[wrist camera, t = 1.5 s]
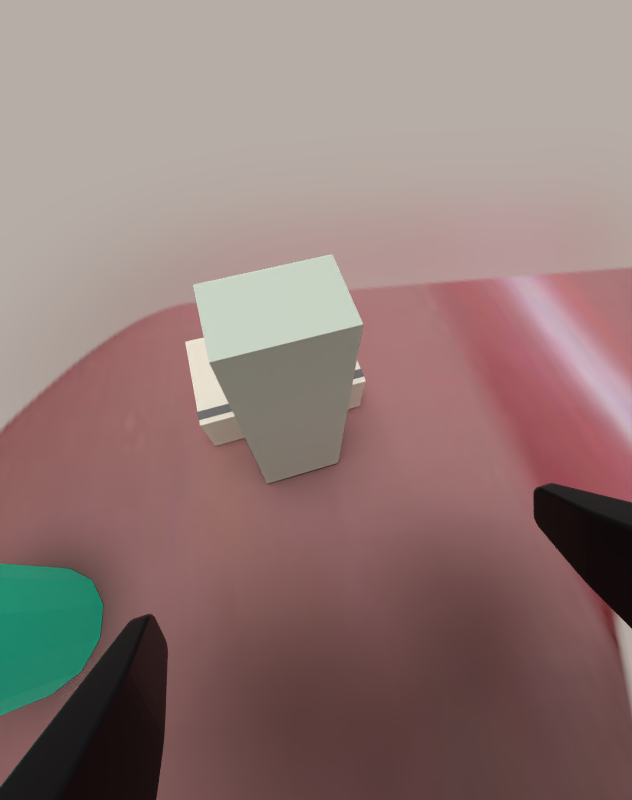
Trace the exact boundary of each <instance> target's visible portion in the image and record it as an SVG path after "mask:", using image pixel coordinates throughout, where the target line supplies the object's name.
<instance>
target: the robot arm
mask: <svg viewBox="0 0 632 800" xmlns="http://www.w3.org/2000/svg"><path fill="white" fill-rule="evenodd" d="M534 519H535V521H536V523H537V525H538V526H539V528H540V529H541V530H542V531H543V533H544V534H545V535H546V536H547V537H548V538H549V540H550V541H551V542H552V543H553V544H554V546H555V547H556V548H557V549H558V550H559V552H560V553H561V554H562V555H563V556H564V557H565V559H566V560H567V561H568V562H569V563H570V565H571V566H572V567H573V568H574V569H575V571H576V572H577V573H578V574H579V575H580V576H581V577H582V579H583V580H584V581H585V582H586V583H587V584H588V585H589V586H590V587H591V588H592V589H593V590H594V591H595V592H596V593H597V594H598V595H599V596H600V597H601V598H602V599H603V600H604V601H605V602H606V603H607V604H608V605H609V606H610V607H611V608H612V609H613V610H614V611H615V612H616V613H617V614H618V615H619V616H620V617H621V618H622V619H623V620H624V621H625V622H626V623H627V624H628V625H629V626H630V627H631V628H632V502H627V501H623V500H619V499H615V498H611V497H607V496H603V495H599V494H595V493H591V492H587V491H583V490H579V489H574V488H570V487H566V486H562V485H558V484H554V483H549V484H546V485H543V486H540V487H537V488H536V489H535V490H534ZM167 660H168V648H167V643H166V640H165V638H164V635H163V633H162V631H161V629H160V627H159V625H158V623H157V621H156V619H155V617H154V616H153V615H152V614H147V615H144V616H141V617H138V618H134V619H132V620H131V621H130V622H129V623H128V624H127V625H126V626H125V628H124V629H123V630H122V632H121V633H120V634H119V635H118V637H117V638H116V639H115V641H114V642H113V643H112V644H111V646H110V647H109V648H108V650H107V651H106V652H105V653H104V655H103V656H102V657H101V658H100V660H99V661H98V662H97V664H96V665H95V666H94V667H93V669H92V670H91V671H90V673H89V674H88V675H87V676H86V678H85V679H84V680H83V682H82V683H81V684H80V685H79V687H78V688H77V689H76V691H75V692H74V693H73V694H72V696H71V697H70V698H69V700H68V701H67V702H66V703H65V705H64V706H63V707H62V708H61V710H60V711H59V712H58V714H57V715H56V716H55V717H54V719H53V720H52V721H51V723H50V724H49V725H48V726H47V728H46V729H45V730H44V732H43V733H42V734H41V735H40V737H39V738H38V739H37V741H36V742H35V743H34V744H33V746H32V747H31V748H30V749H29V751H28V752H27V753H26V755H25V756H24V757H23V758H22V760H21V761H20V762H19V764H18V765H17V766H16V767H15V769H14V770H13V771H12V773H11V774H10V775H9V776H8V778H7V779H6V780H5V782H4V783H3V784H2V785H1V787H0V800H156V798H157V790H158V783H159V775H160V768H161V760H162V753H163V744H164V733H165V713H166V686H167Z"/></svg>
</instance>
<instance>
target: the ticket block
mask: <svg viewBox="0 0 632 800" xmlns="http://www.w3.org/2000/svg"><path fill="white" fill-rule="evenodd" d="M185 343H186V348H187V354H188V360H189V365H190V371H191V377H192V382H193V388H194V394H195V399H196V405H197V410H198V418H199V422H200V426H201V427H202V429H203V430H204V432H205V433H206V434H207V436H208V437H209V438H210V440H211V441H212V443H213V444H214V445H215V446H217V445H221V444H224V443H228V442H232V441H235V440H239V439H242V438H245V437H244V435H243V432H242V430H241V428H240V426H239V424H238V422H237V420H236V418H235V416H234V414H233V412H232V409H231V407H230V405H229V403H228V401H227V399H226V397H225V395H224V393H223V391H222V389H221V386H220V384H219V382H218V380H217V378H216V376H215V374H214V372H213V370H212V368H211V366H210V363H209V360H208V355H207V350H206V345H205V340H204V338H200V339H195V340H191V341H187V342H185ZM365 382H366V381H365V378H364V375H363V372H362V370H361V369H360V366H359V364H358V361H357V362H356V367H355V373H354V378H353V384H352V389H351V395H350V400H349V406H348V409H351V408H355V407H358V406H360V402H361V398H362V394H363V390H364V386H365Z"/></svg>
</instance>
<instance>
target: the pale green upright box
mask: <svg viewBox="0 0 632 800" xmlns="http://www.w3.org/2000/svg"><path fill="white" fill-rule="evenodd" d="M193 286H194V292H195V296H196V301H197V306H198V311H199V316H200V321H201V326H202V331H203V335H204V340H205V345H206V350H207V355H208V360H209V363H210V366H211V368H212V370H213V372H214V374H215V376H216V378H217V380H218V382H219V384H220V386H221V389H222V391H223V393H224V395H225V397H226V399H227V401H228V403H229V405H230V407H231V409H232V412H233V414H234V416H235V418H236V420H237V422H238V424H239V426H240V428H241V430H242V432H243V435H244V437H245V439H246V441H247V443H248V445H249V447H250V449H251V451H252V453H253V455H254V458H255V460H256V462H257V464H258V466H259V468H260V470H261V472H262V474H263V476H264V478H265V481H266V483H267V484H268V483H272V482H275V481H278V480H282V479H285V478H289V477H292V476H295V475H299V474H302V473H306V472H309V471H312V470H316V469H319V468H323V467H326V466H329V465H333V464H336V463H338V461H339V455H340V450H341V444H342V439H343V433H344V428H345V422H346V417H347V411H348V406H349V400H350V395H351V389H352V384H353V378H354V373H355V367H356V362H357V356H358V351H359V345H360V340H361V334H362V329H363V323H362V320H361V318H360V316H359V314H358V311H357V309H356V307H355V305H354V302H353V300H352V298H351V295H350V293H349V291H348V289H347V286H346V285H345V282H344V280H343V277H342V275H341V273H340V271H339V268H338V266H337V264H336V262H335V259H334V257H333V255H332V254H331V255H326V256H322V257H317V258H313V259H308V260H303V261H299V262H295V263H290V264H285V265H281V266H276V267H272V268H267V269H263V270H258V271H254V272H249V273H245V274H240V275H235V276H230V277H226V278H221V279H217V280H212V281H208V282H203V283H198V284H194V285H193Z"/></svg>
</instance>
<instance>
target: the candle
mask: <svg viewBox="0 0 632 800" xmlns="http://www.w3.org/2000/svg"><path fill="white" fill-rule="evenodd" d="M102 615H103V603H102V601H101V599H100V596H99V594H98V592H97V590H96V588H95V585H94V583H93V581H92V580H91V579H89V578H87V577H85V576H83V575H81V574H79V573H77V572H75V571H73V570H71V569H69V568H55V567H41V566H27V565H13V564H0V716H1V715H3V714H5V713H8V712H10V711H13V710H15V709H18V708H20V707H23V706H25V705H27V704H30V703H32V702H35V701H37V700H40V699H42V698H45V697H47V696H49V695H52V694H53V693H54V692H56V691H57V690H58V689H59V688H61V687H62V686H63V685H65V684H66V683H67V682H68V681H70V680H71V679H72V678H74V677H75V676H76V675H77V674H79V673H80V672H81V671H82V669H83V668H84V666H85V664H86V662H87V661H88V659H89V657H90V655H91V654H92V652H93V650H94V648H95V646H96V645H97V643H98V641H99V639H100V634H101V624H102Z"/></svg>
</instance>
